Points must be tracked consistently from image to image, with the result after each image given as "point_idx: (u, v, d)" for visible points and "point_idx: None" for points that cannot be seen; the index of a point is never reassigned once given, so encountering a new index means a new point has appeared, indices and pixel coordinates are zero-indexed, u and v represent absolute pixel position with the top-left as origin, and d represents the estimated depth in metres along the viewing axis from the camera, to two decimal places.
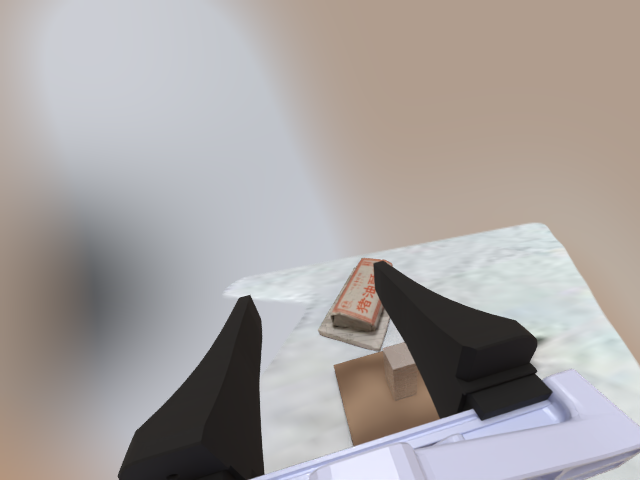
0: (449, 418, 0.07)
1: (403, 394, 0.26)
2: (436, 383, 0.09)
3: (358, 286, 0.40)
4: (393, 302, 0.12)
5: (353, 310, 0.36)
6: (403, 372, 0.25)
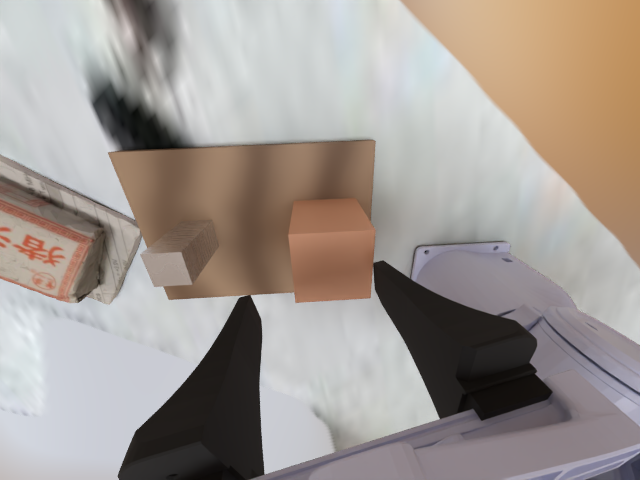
0: (449, 418, 0.07)
1: (213, 240, 0.20)
2: (437, 383, 0.09)
3: None
4: (393, 302, 0.12)
5: (59, 271, 0.19)
6: (194, 263, 0.17)
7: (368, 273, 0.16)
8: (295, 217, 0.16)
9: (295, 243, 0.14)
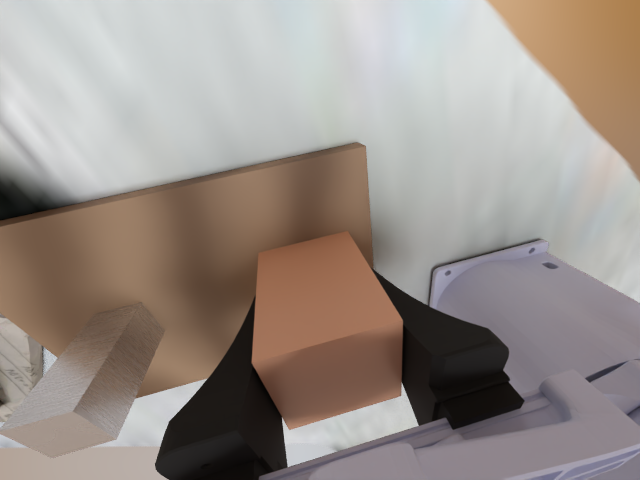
0: None
1: (151, 331, 0.14)
2: (414, 389, 0.09)
3: None
4: None
5: None
6: (113, 401, 0.10)
7: (395, 372, 0.10)
8: (262, 300, 0.10)
9: (268, 370, 0.08)
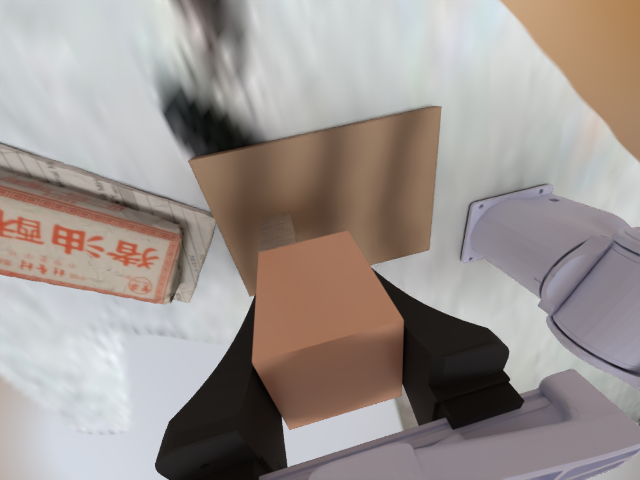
0: None
1: (294, 230, 0.21)
2: (414, 389, 0.09)
3: (63, 265, 0.17)
4: None
5: (155, 273, 0.18)
6: None
7: (396, 372, 0.10)
8: (262, 299, 0.10)
9: (268, 370, 0.08)
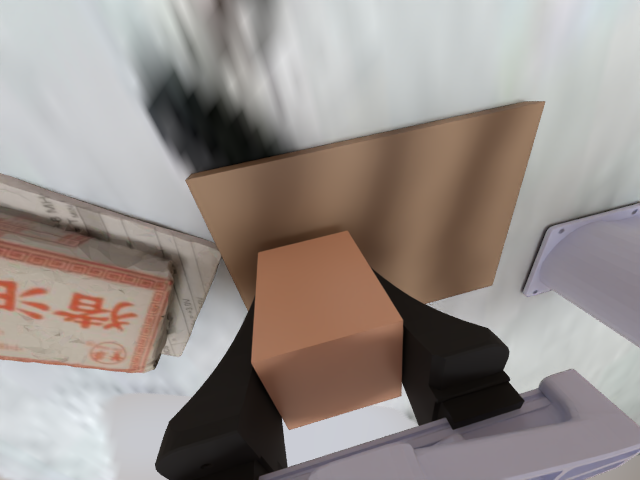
0: None
1: None
2: (414, 390, 0.09)
3: None
4: None
5: (130, 336, 0.12)
6: None
7: (396, 372, 0.10)
8: (262, 299, 0.10)
9: (267, 370, 0.08)
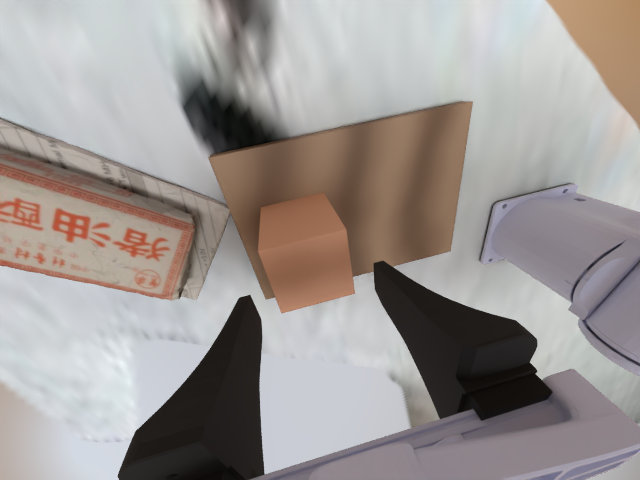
0: (449, 418, 0.07)
1: None
2: (436, 383, 0.09)
3: (64, 254, 0.15)
4: (393, 302, 0.12)
5: (164, 265, 0.17)
6: None
7: (348, 271, 0.15)
8: (263, 228, 0.16)
9: (267, 258, 0.14)
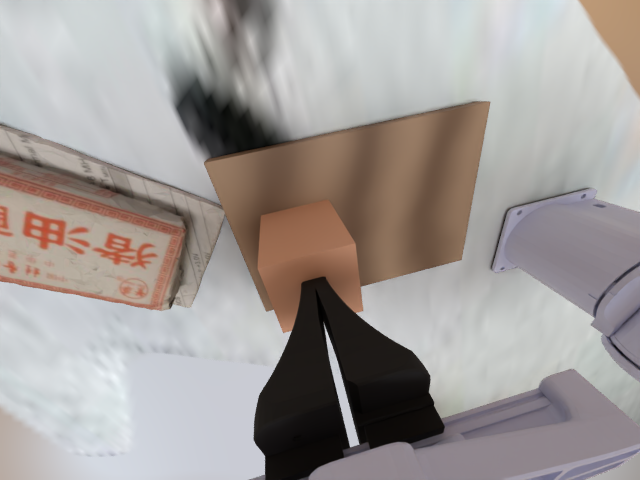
0: (449, 418, 0.07)
1: None
2: (351, 409, 0.09)
3: (37, 262, 0.13)
4: (326, 320, 0.12)
5: (152, 274, 0.15)
6: None
7: (356, 287, 0.14)
8: (264, 240, 0.14)
9: (268, 275, 0.12)
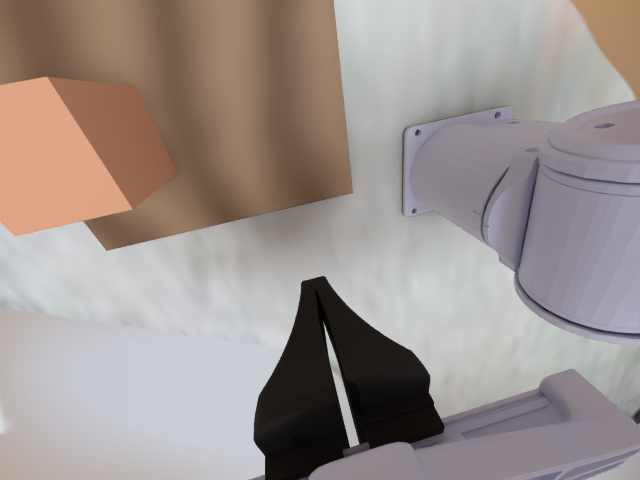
0: (449, 418, 0.07)
1: None
2: (351, 409, 0.09)
3: None
4: (325, 320, 0.12)
5: None
6: None
7: (98, 166, 0.10)
8: None
9: None
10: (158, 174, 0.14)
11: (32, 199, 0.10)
